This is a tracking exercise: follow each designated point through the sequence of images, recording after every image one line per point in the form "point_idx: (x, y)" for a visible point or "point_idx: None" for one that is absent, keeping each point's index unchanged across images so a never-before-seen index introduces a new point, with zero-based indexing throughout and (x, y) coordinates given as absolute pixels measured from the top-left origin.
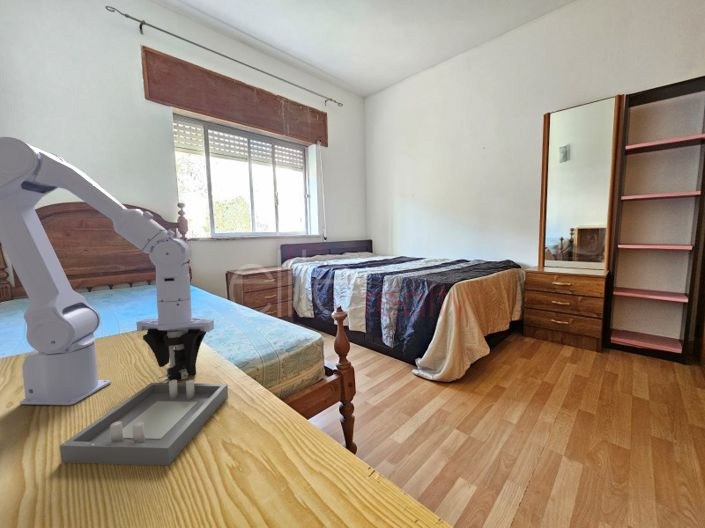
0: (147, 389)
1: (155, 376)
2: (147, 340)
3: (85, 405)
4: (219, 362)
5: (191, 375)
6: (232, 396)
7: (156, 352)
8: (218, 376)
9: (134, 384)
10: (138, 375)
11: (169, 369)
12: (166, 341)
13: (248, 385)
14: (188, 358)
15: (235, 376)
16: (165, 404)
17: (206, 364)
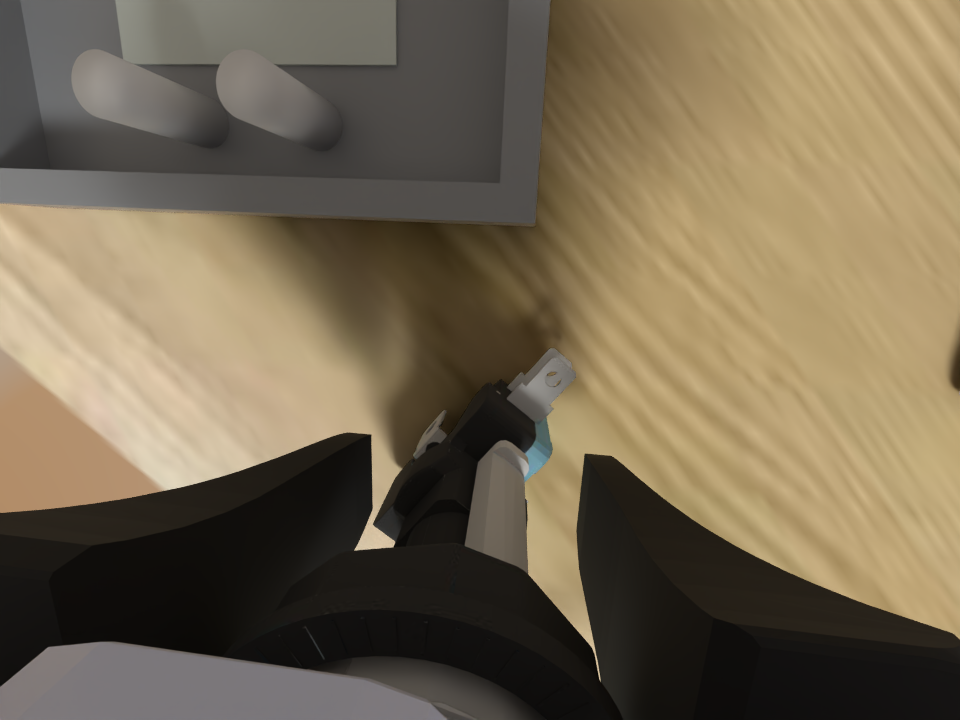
0: (505, 122)
1: (672, 480)
2: (835, 608)
3: (948, 78)
4: None
5: (413, 459)
6: (35, 206)
7: (644, 510)
8: (254, 452)
9: (757, 375)
10: (809, 503)
11: (511, 426)
12: (499, 604)
13: (22, 333)
14: (301, 451)
15: (155, 446)
16: (310, 20)
17: None
